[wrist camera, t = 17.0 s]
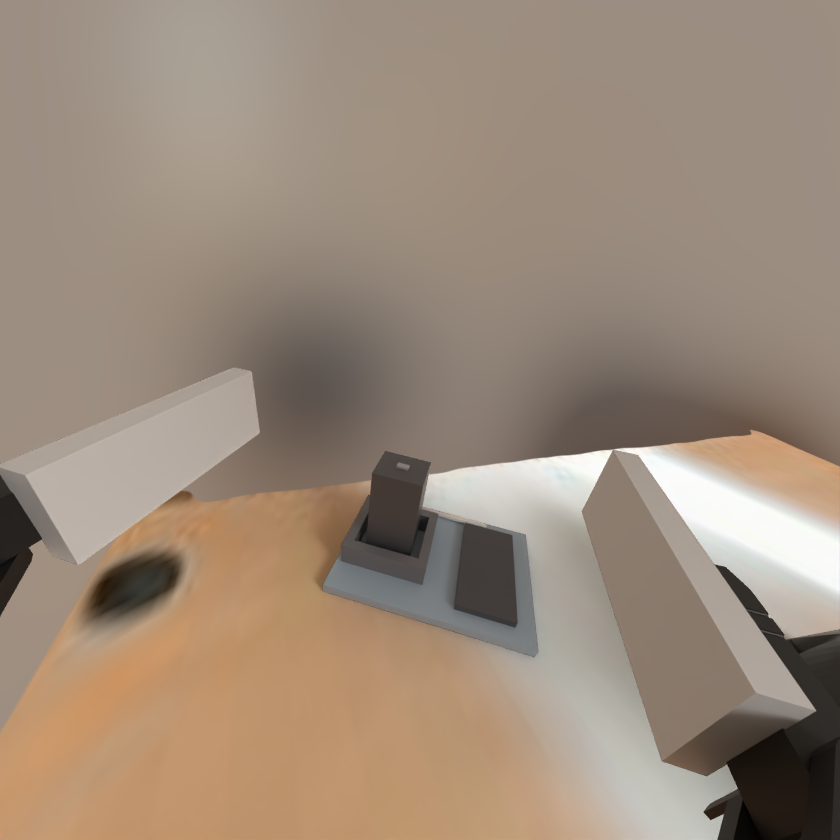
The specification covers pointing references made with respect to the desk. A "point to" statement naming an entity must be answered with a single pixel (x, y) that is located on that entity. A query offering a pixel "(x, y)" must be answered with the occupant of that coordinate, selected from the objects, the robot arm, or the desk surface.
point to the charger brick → (396, 502)
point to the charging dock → (445, 578)
